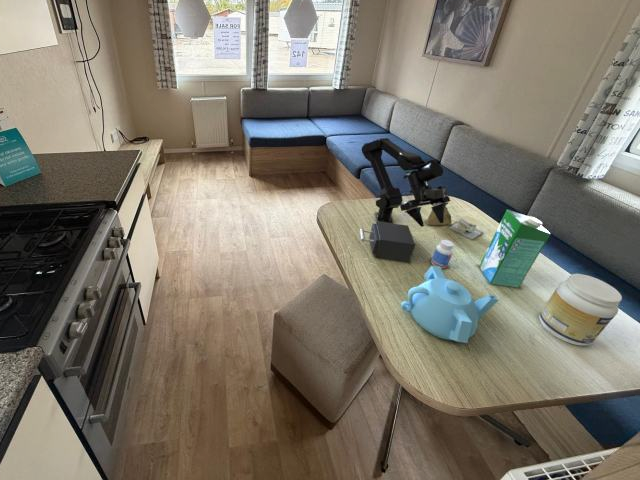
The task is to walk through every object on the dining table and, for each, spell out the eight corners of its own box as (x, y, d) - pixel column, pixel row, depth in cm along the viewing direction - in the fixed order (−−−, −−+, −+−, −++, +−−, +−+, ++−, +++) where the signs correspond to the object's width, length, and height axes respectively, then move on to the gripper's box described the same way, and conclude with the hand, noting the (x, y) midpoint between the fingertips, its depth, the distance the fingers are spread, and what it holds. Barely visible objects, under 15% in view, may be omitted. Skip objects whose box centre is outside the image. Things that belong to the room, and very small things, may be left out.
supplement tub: (585, 356, 83) (623, 312, 75) (531, 324, 92) (559, 282, 84) (595, 333, 90) (631, 291, 82) (544, 306, 98) (571, 265, 90)
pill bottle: (445, 271, 112) (454, 249, 107) (429, 264, 114) (437, 243, 110) (448, 263, 115) (456, 242, 111) (432, 257, 118) (440, 236, 114)
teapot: (453, 358, 82) (472, 322, 75) (390, 309, 95) (401, 276, 89) (485, 324, 91) (504, 290, 85) (423, 285, 105) (435, 253, 99)
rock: (453, 215, 141) (430, 207, 145) (461, 208, 133) (436, 199, 137) (446, 236, 138) (422, 226, 142) (452, 230, 130) (428, 219, 134)
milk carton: (519, 288, 105) (554, 227, 93) (490, 283, 107) (521, 223, 95) (505, 270, 113) (537, 212, 101) (478, 266, 114) (506, 208, 103)
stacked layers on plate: (448, 227, 136) (452, 217, 134) (458, 222, 141) (462, 211, 138) (472, 239, 129) (477, 228, 126) (482, 233, 133) (487, 222, 131)
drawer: (359, 252, 118) (362, 237, 115) (357, 235, 128) (360, 221, 125) (402, 259, 115) (407, 244, 112) (397, 241, 125) (401, 227, 122)
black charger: (375, 257, 117) (380, 239, 113) (371, 238, 128) (376, 221, 124) (409, 263, 115) (415, 244, 111) (402, 242, 126) (408, 225, 122)
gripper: (414, 181, 110) (428, 224, 106) (454, 176, 115) (470, 216, 111) (393, 190, 120) (406, 230, 116) (432, 185, 125) (445, 222, 121)
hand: (432, 224), depth 116 cm, fingers open, 9 cm apart
